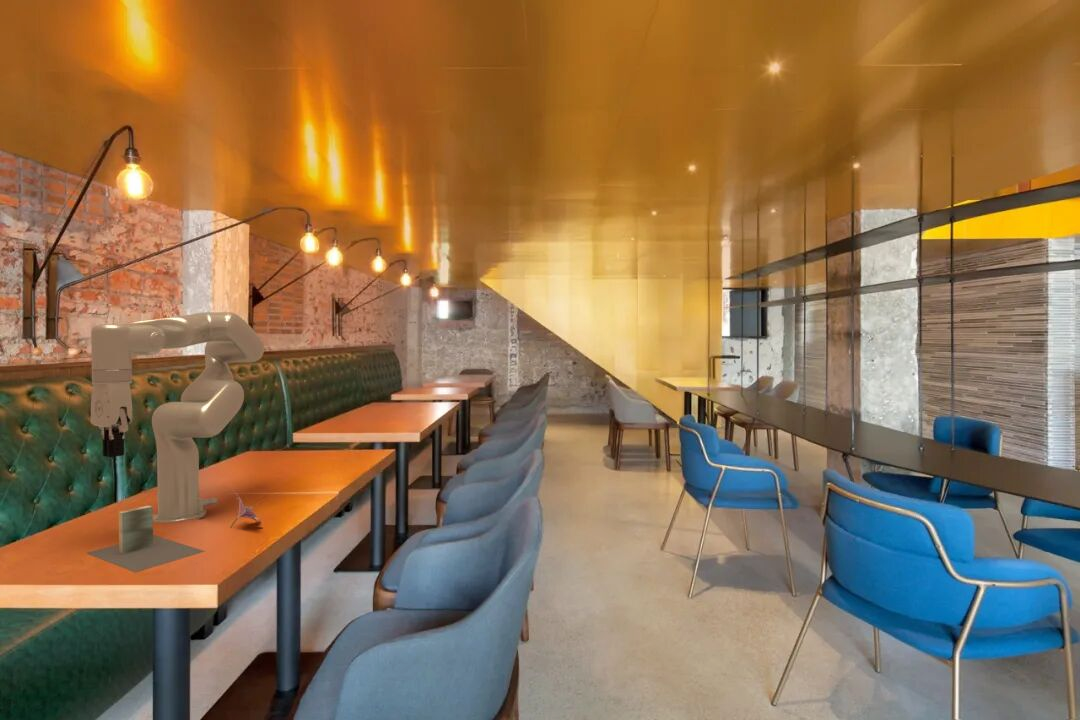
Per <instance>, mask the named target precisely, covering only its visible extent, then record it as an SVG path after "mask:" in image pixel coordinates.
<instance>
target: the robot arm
mask: <svg viewBox="0 0 1080 720" xmlns="http://www.w3.org/2000/svg"><path fill="white" fill-rule="evenodd" d="M90 333H91V334H90V344H91V348H90V349H91V384H92V390H91V398H90V424H92V426H95V427H98V429H99V430H100V431H101V439H102V456H103V457H107V458H115V457H122V456H124V455H125V438H126V436H125V435H126V432H128V431H129V426H130V425H131V424H132V422H133V402H132V389H131V385H130V384H132V382H133V373H132V371H133V369H132V367H133V366H132V365H133V364H132V363H133V362H132V360H133V359H132V356H137V357H138V356H141V357H142V356H153V355H156V354H159V353H160V352H162V350H167V349H170V350H172V349H182V348H186V347H191V346H194V345H195V346H196V345H198V344H199V345H200V344H205V345H204V359H205V361H204V362H205V363H204V364H205V367H204V370H203V371H202V372H201V373H200V374H199V375H198V376H197V377H196V378H195V379H194V380H193V381H192V382H191V383H190V384H189V385H188V386H187V387H186V388H185V389H184V390H183V392H182V393H181V396H180V401H173V402H172V401H171V402H166V403H163V404H161V405H159V406H157V408H155V409H154V411H153V413H152V417H151V426H152V430H153V434H154V438H155V445H156V461H157V462H156V469H157V473H156V474H157V477H156V478H157V481H156V482H157V513H155V514H153V523H161V524H162V523H163V524H164V523H165V524H166V523H177V522H183V521H184V522H185V521H189V520H192V519H197V520H199V519H202V518H204V517H205V516H206V515H207V513H206V512H207V511H206V507H207V506H213V505H216V504H218V498H217V497H216V496H214V497H210V498H207V497H205V498H204V497H203V498H202V497H200V476H199V475H200V473H199V472H200V469H199V467H200V465H199V464H200V462H199V461H200V457H199V456H200V455H199V449H198V447H197V445H196V443H195V441H194V438H202V439H203V438H205V439H206V438H213V437H215V436H217V435H219V434H220V433H221V432H222V431H223V430H224V429H225V427H226V426H227V425H228V424H229V423H230V421H232V420H233V418H234V417H235V416H236V415H237V413H238V412H239V411H241V407H242V406H243V402H244V400H245V399H244V398H245V393H244V392H245V391H244V388H243V386H242V385H241V384H240V383H239V382H237V381H235V380H234V375H233V373H232V371H231V369H230V368H229V363H254V362H257V361H259V360H261V358H262V357H263V356H264V352H265V347H264V346H265V345H264V342H263V340H262V339H261V337H260V336H259V334H257V332H255V330H254V329H253V328H252V327H251V326H250V324H248V322H247V321H246V320H245V319H243V318H242V317H241V316H240V315H238V314H237V313H234V312H230V311H222V312H219V311H217V312H216V311H215V312H213V311H212V312H210V311H209V312H208V311H207V312H206V311H205V312H199V313H192V314H187V315H186V314H185V315H178V316H172V317H171V316H169V317H163V318H161V317H160V318H156V319H151V320H149V319H147V320H141V321H140V320H139V321H131V322H123V323H117V324H96V325H94V326H93V327H92V328H91V331H90ZM204 508H205V509H204Z"/></svg>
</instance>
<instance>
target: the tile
mask: <svg viewBox="0 0 1080 720" xmlns="http://www.w3.org/2000/svg"><path fill="white" fill-rule="evenodd" d="M153 508H154V507H153V505H152V506H150V505H144V506H140V507H136V508H131V509H126V510H120V511H118V544H119V552H120V553H123V554H125V553H128V552H132V551H136V550H139V549H143V548H147V547H150V546H153V535H154V522H153V515H154V512H153V510H154V509H153Z"/></svg>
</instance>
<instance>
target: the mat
mask: <svg viewBox="0 0 1080 720" xmlns="http://www.w3.org/2000/svg"><path fill="white" fill-rule="evenodd" d="M204 552H206V550H203V549H199V548H196V547H193V546H191V545H186V544H184V543H180V542H177V541H174V540H171V539H168V538H166V537H165V538H164V537H161V536H158V535H155V534H153V546H150V547H147V548H143V549H139V550H136V551H132V552H128V553H125V554H123V553H120V552H119V543H118V544H114V545H110V546H106V547H103V548H100V549H95V550H91V551H88V552H86V554H87V555H89V556H92V557H94V558H97V559H100V560H103V561H104V562H107V563H109V564H112V565H116V566H118V567H120V568H123V569H126V570H128V571H131V572H133V573H138V572H141V571H144V570H147V569H151V568H154V567H158V566H162V565H164V564H168V563H171V562H175V561H177V560H181V559H184V558H189V557H191V556H194V555H198V554H201V553H204Z"/></svg>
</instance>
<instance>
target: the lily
mask: <svg viewBox="0 0 1080 720" xmlns="http://www.w3.org/2000/svg"><path fill="white" fill-rule="evenodd" d="M232 492H234V494H235V495H236V496H237V497H236V499H237V500H238V505H239V506H238V515H237V517H236V518H235V519H234V521H233V522H232V524H231V526H230V529H232V528H233V526H234V524H235V523H236V521H237V520H239V519H240V518H248V519H250V520H251V519H252V520H254V521H255V522H257V524H259V526H260V527H261V528H262V529H264V527H263V526H262V525H261V520H260V519H259V518H258V516H257V514H255V512H254V511H253V509H254V508H255V505H250V506H248V505H244V504H243V501H242V499H241V498H240V496H239V494H238V493H237V492H236V491H235V490H234V489H232Z"/></svg>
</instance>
